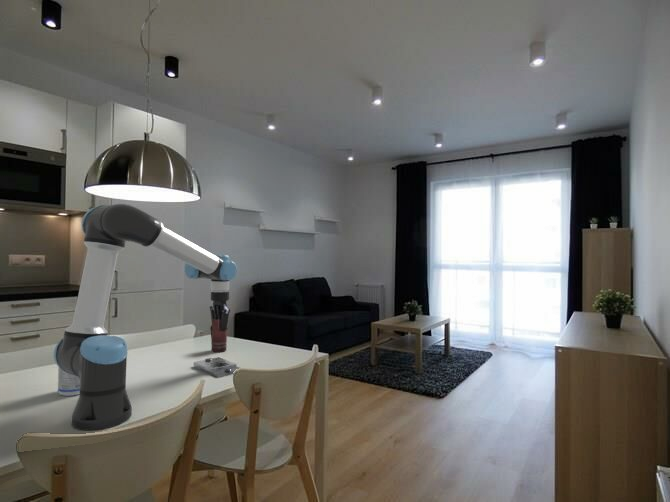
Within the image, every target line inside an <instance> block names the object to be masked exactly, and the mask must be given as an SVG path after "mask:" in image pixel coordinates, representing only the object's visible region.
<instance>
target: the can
mask: <svg viewBox="0 0 670 502" xmlns="http://www.w3.org/2000/svg"><path fill="white" fill-rule="evenodd" d="M211 325H212V344H211V352H212V353H216V354H220V353H225V352H226V351H227V339H228V329H227V330H226V331H220V326H221V320H219V319H215V318H213V320H211Z"/></svg>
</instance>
